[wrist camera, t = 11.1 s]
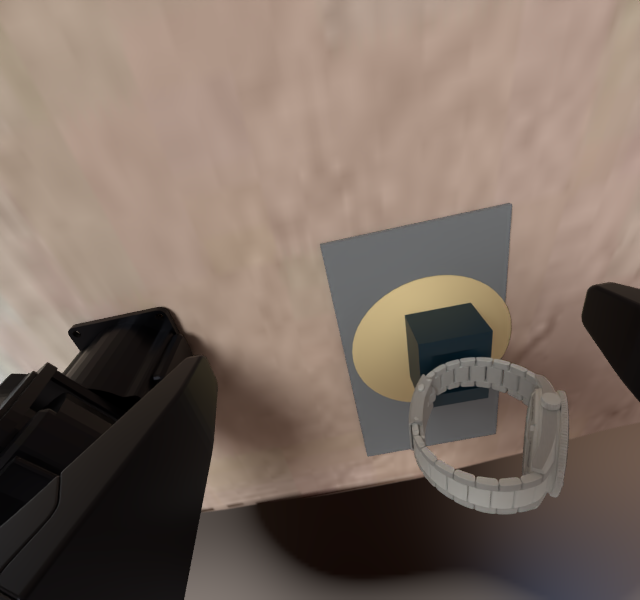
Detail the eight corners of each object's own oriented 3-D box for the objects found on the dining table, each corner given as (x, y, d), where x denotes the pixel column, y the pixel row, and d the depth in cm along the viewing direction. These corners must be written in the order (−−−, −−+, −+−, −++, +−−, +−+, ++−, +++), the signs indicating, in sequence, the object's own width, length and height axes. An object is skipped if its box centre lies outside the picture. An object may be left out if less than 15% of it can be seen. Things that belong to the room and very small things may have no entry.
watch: (496, 360, 26) (607, 517, 17) (386, 380, 27) (434, 544, 17) (501, 295, 23) (639, 440, 14) (377, 318, 24) (429, 474, 14)
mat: (366, 453, 32) (367, 457, 31) (320, 243, 21) (320, 246, 21) (500, 429, 31) (502, 433, 30) (518, 201, 21) (522, 203, 20)
